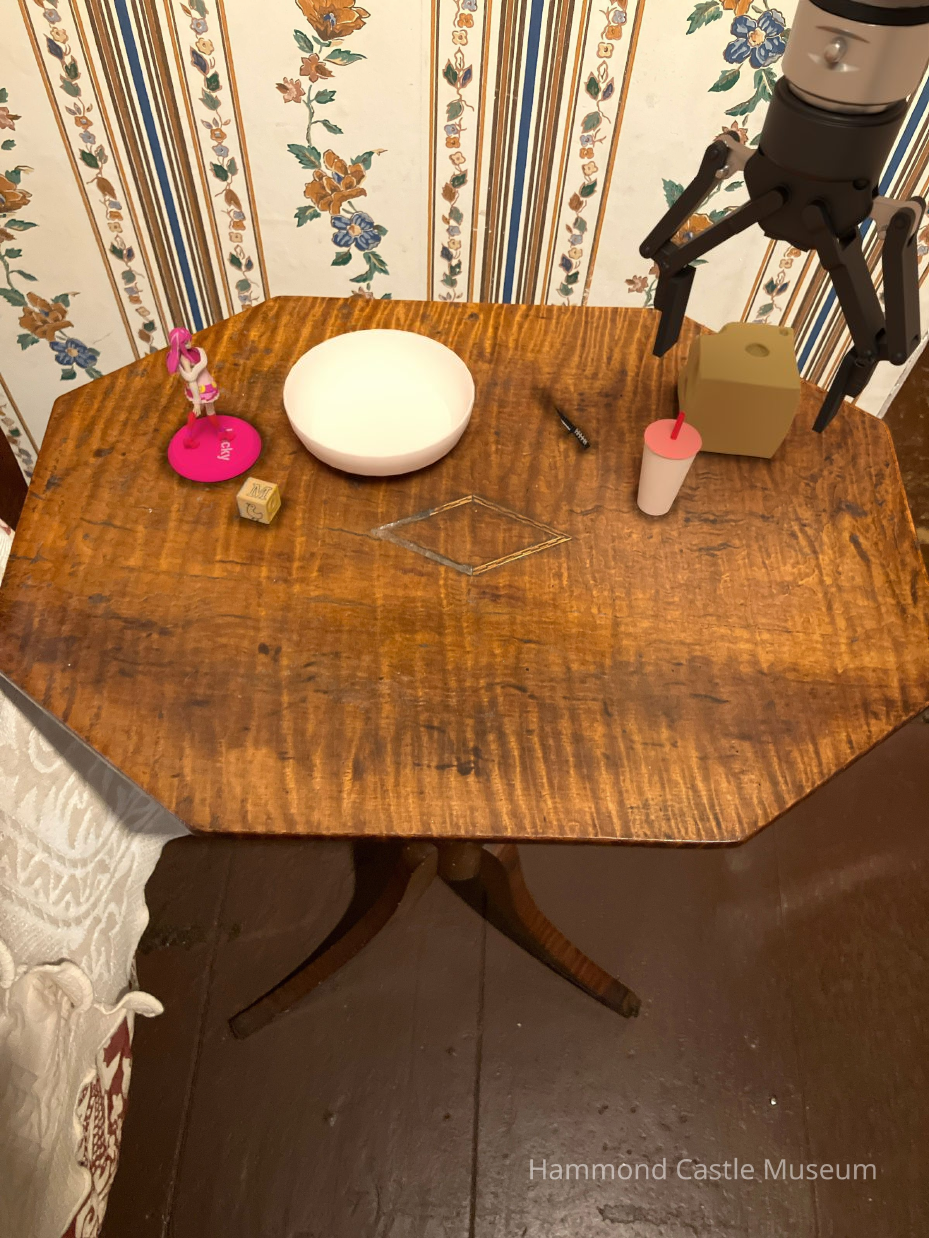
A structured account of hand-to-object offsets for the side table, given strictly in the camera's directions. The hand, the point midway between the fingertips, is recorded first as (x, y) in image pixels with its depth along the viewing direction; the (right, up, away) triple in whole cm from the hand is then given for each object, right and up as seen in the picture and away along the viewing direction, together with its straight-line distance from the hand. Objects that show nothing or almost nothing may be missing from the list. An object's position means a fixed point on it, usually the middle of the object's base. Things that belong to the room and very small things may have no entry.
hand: (741, 384), depth 67 cm
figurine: (-48, 0, +25) cm, 54 cm away
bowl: (-30, +2, +27) cm, 41 cm away
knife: (-10, +4, +29) cm, 31 cm away
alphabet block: (-42, -7, +21) cm, 47 cm away
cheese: (+7, +3, +30) cm, 31 cm away
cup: (-2, -6, +23) cm, 23 cm away
